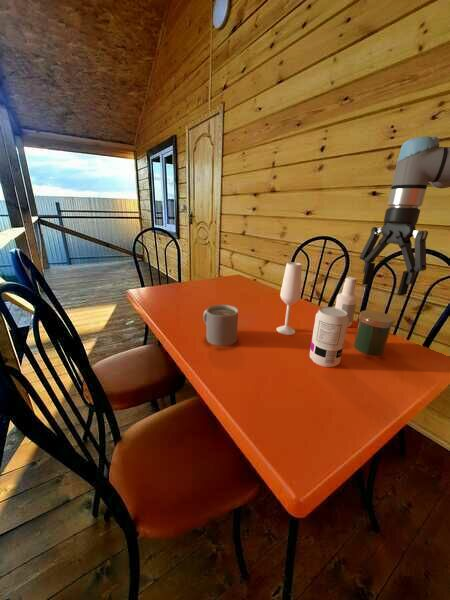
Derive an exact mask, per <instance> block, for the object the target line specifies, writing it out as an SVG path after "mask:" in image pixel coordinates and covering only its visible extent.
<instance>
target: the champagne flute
mask: <svg viewBox="0 0 450 600" xmlns="http://www.w3.org/2000/svg"><path fill="white" fill-rule="evenodd" d="M302 265H303V264H302V263H300V262H297V261H296V262H295V261H294V262H293V261H288V262H286V265H285V269H284V273H283V274H284V275H283V279H282V282H281V289H280V293H279V297H280V299H281V301H282V302H283V303H284V304H285V305H286V312H285V321H284V325H280V326H278V327H276V329H275V330H276V332H278V333H279V334H281V335H286V336H290V335H291V336H292V335H294V334H296V330H295V329H294V328H292V327H291V326H290V325H289V324H290V323H289V322H290V314H291V308H292V306H293V305H294V304H296V303H297V302H299V300H301V295H302V294H301V293H302V267H303V266H302Z"/></svg>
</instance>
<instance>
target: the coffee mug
mask: <svg viewBox="0 0 450 600" xmlns="http://www.w3.org/2000/svg"><path fill="white" fill-rule="evenodd" d="M202 316H203V323H204V324H205V325H206V329H205V330H206V334H205V335H206V337H205V339H206V341H207V342H208V343H209V344H211V345H214V346H217V347H227V346H231V345H234V344H235V343H236V342H237V341H238V324H239V309H238V308H237V307H235V306H233V305H229V304H214V305H210V306H209V307H207V308H206V309H205V310H204V311H203V315H202Z"/></svg>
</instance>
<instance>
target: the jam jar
mask: <svg viewBox="0 0 450 600" xmlns="http://www.w3.org/2000/svg"><path fill="white" fill-rule="evenodd" d="M391 328H392V327H390V328H378V327H373V326H369V325H366V324H364V323H362V322H361V321H360V320H359V319H358V325H357V328H356V333H355V337H354V342H353V348H354V349H356V351H358V352H361V353H363V354H364V355H368V356H374V357H375V356H376V357H378V356H382V355H384V353H385V350H386V347H387V342H388V339H389V336H390V332H391Z"/></svg>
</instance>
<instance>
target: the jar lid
mask: <svg viewBox="0 0 450 600" xmlns="http://www.w3.org/2000/svg"><path fill="white" fill-rule="evenodd" d="M359 320H360V321H361V322H362V323H364V324H366V325H369V326H373V327H378V328H390V327H391V328H392V327H393V326H394V322H395V318H394V317H393V316H392V315H389V314H388V313H385V312H381V311H376V310H362V311H360V312H359V314H358V321H359ZM391 328H390V329H391Z"/></svg>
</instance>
